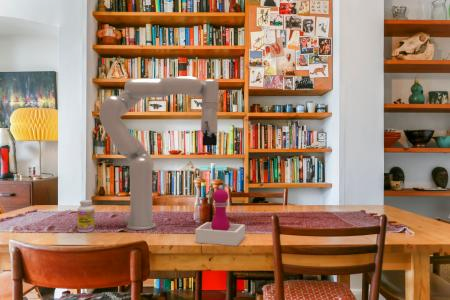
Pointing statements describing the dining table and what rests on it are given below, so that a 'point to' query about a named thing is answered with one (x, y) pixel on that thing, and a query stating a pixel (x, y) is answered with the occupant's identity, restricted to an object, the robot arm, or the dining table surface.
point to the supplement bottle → (86, 216)
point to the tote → (220, 234)
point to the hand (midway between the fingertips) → (210, 145)
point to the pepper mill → (220, 210)
